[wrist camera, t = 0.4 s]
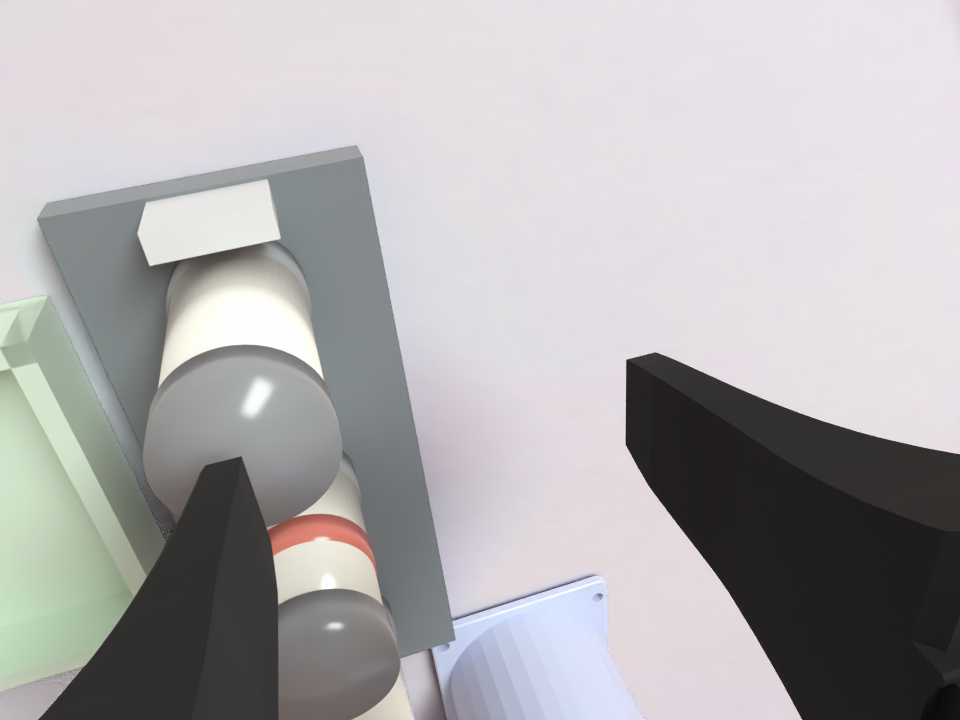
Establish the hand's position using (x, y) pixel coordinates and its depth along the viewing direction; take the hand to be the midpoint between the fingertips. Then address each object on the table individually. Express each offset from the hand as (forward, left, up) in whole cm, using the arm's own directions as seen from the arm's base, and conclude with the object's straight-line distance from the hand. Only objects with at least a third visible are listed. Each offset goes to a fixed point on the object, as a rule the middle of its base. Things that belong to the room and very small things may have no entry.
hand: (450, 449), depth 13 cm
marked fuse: (-7, +4, -9) cm, 12 cm away
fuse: (0, +4, -9) cm, 10 cm away
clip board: (-7, +4, -10) cm, 13 cm away
